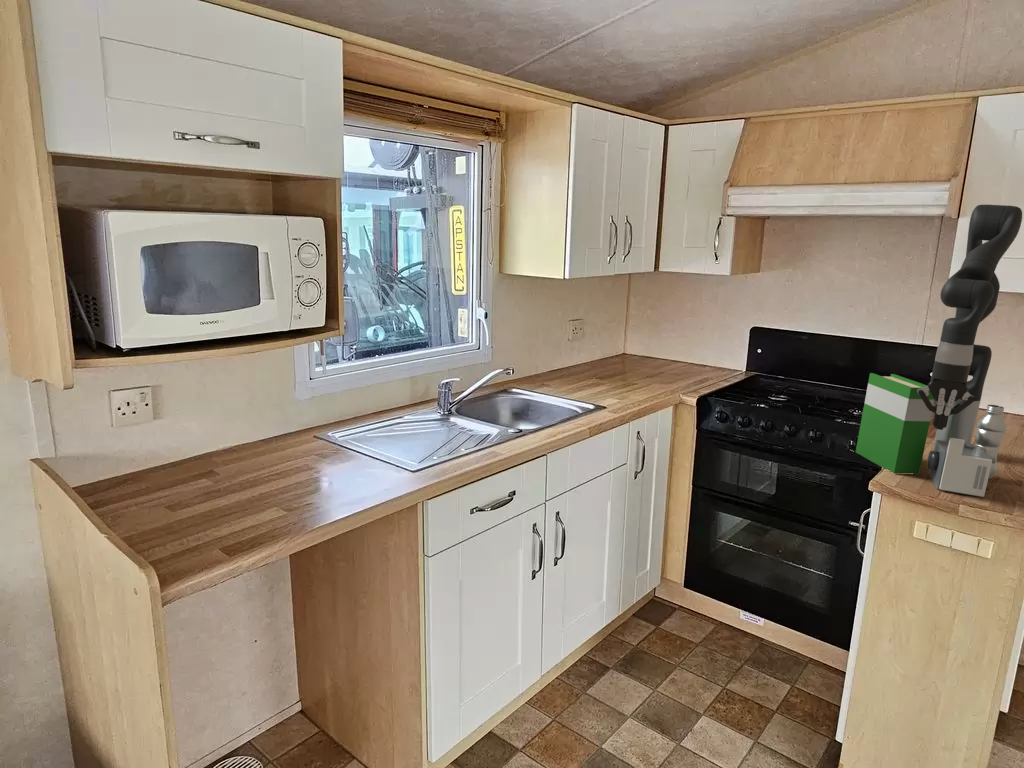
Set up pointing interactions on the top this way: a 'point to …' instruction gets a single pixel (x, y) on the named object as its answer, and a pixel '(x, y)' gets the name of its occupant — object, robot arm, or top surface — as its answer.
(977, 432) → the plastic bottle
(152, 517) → the top surface
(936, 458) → the camera housing
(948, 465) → the side door
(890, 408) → the hardback book
